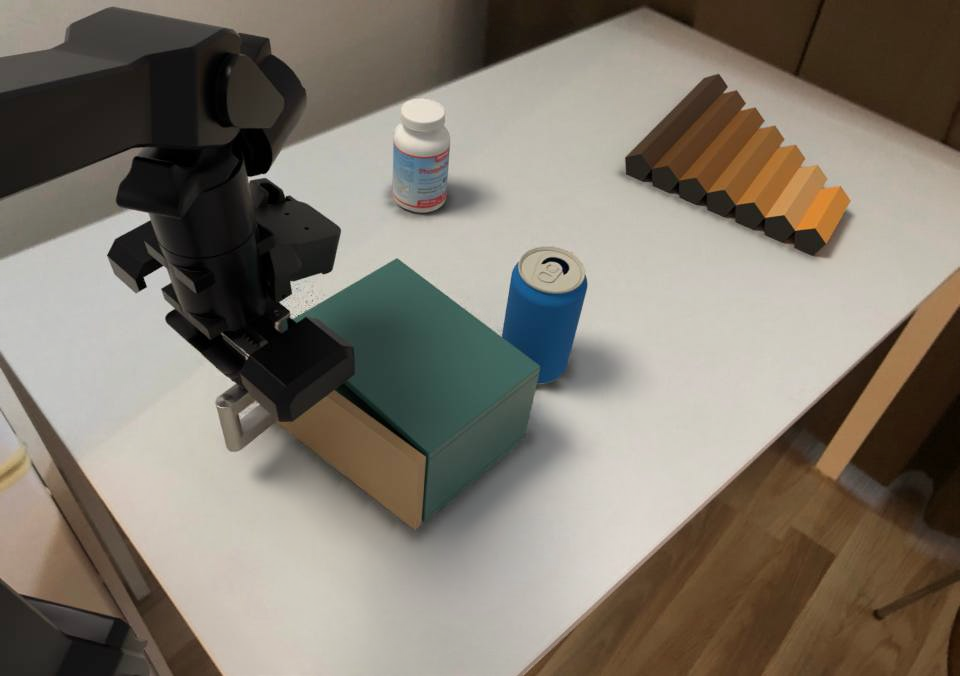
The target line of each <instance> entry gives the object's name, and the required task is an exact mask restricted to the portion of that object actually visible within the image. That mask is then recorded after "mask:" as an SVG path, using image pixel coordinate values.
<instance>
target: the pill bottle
mask: <svg viewBox="0 0 960 676" xmlns="http://www.w3.org/2000/svg"><path fill="white" fill-rule="evenodd" d="M399 120H400V123H399V124H398V125H396V127H395V129H394V132H393V137H392V138H393V143H392V146H393V147H392V150H393V151H392V197H393V198H392V199H393V200H394V201H395V203H396V204H397V205H398V206H400V207H401V208H403V209H405V210H408V211H410V212H414V213H419V214H420V213H421V214H425V213H430V212H434V211H436V210H438V209H440V208H441V207H442V206H443V205H444V204H445V202H446V200H447V192H448V178H449V164H450V152H451V151H450V150H451V135H450V132H449V130H448V129H447V127H446V126H445V123H446V109H445V107H444V106H443V105H442V104H441V103H439V102H437V101H436V100H433V99H429V98H414V99H410V100H408V101H406V102H405V103H403V104H402V106H401V108H400V118H399Z"/></svg>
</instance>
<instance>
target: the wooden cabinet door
mask: <svg viewBox="0 0 960 676" xmlns="http://www.w3.org/2000/svg"><path fill="white" fill-rule="evenodd" d="M255 402H256V401H255V400H254V399H253V398H252V396H251V395H250V394H249V392H248V391H247V390H243V389H242V388H241V387H240V386H239V385H237V384H236V383H235V384H233V385H232V386H231V387H229V388H228V389H227V390H225V391H224V392H222V393H220V394H219V395H218V396H217V397H216V399H215V402H214V404H215V408H216V411H217V416H218V420H219V423H220V427H221V431H222V435H223V439H224V443H225V447H226V449H227V450H228V451H229V452H232V453H238V452H240V451H241V450H243V449H245V448H246V447H247V446H248V445H250V443H252V442H253V441H254V440H256V439H257V438H258V437H260V436H261V435H262V434H263V433H264V432H266V431H267V430H268V429H269V428H270V427H272V426H273V425H275V424H277V425H279V426H280V427H281V428H283V429H284V430H285V431H287V432H288V433H289V434H290V435H292V436H293V437H295V438H296V439H297V440H298V441H300V442H301V443H302V444H303V445H305V447H307V448H308V449H310V450H311V452H313V453H314V454H316V455H317V456H319V457H320V458H321V459H323V460H324V461H325V462H326V463H328V464H329V465H330V466H332V467H333V468H334V469H335V470H337V471H338V472H339V473H341V474H342V475H343V476H345V477H346V478H347V479H348V480H349V481H351V482H352V483H353V484H355V485H356V486H357V487H359V488H360V489H361V490H363V491H364V492H365V493H366V494H368V495H369V496H370V497H371V498H373V499H374V500H375V501H376V502H378V503H379V504H380V505H382V506H383V507H384V508H385V509H387V510H388V511H389V512H391V513H392V514H393V515H394V516H396V517H397V518H398V519H400V520H401V521H402V522H403V523H405V524H406V525H407V526H409V527H410V528H411V529H412V530H413V531H416V530H417V529H418V528H419V527H420V526H421V525H422V522H423V521H422V508H423V493H424V478H425V463H426V457H425V456H424V455H423V454H421V453H420V452H419V451H417V450H416V449H415V448H413V447H412V446H410V445H409V444H408V443H406V442H405V441H404V440H402V439H401V438H399V437H398V436H397V435H395V434H394V433H393V432H391V431H390V430H388V429H387V428H386V427H384V426H383V425H382V424H380V423H379V422H377V421H376V420H375V419H373V418H372V417H371V416H369V415H368V414H366V413H365V412H364V411H362V410H361V409H360V408H358V407H357V406H355V405H354V404H353V403H351V402H350V401H349V400H347V399H346V398H344V397H343V396H342V395H340V394H339V393H338V392H336V391H335V390H334V391H332V392H331V393H330V394H329V395H327V396H326V397H325V398H323V399H322V400H321V401H319V402H318V403H317V404H315V405H314V406H313V407H311V408H310V409H309V410H308V411H306V412H305V413H304V414H302V415H301V416H300V417H298V418H297V419H296V420H294V421H293V422H279V421H278V420H277V419H275V418H274V417H273V416H272V415H271V414H270V413H269V412H268V411H266V410H265V409H264V408H263V407H262V406H261V405H260V404H258V405H257V406H255V407H254V408H253V409H251V410H250V411H249V412H248V413H247V414H245V415H243V416H242V417H241V418H240V413H242V412H243V411H245V410H246V409H247V408H248V407H250V406H251V405H252V404H254V403H255Z"/></svg>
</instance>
